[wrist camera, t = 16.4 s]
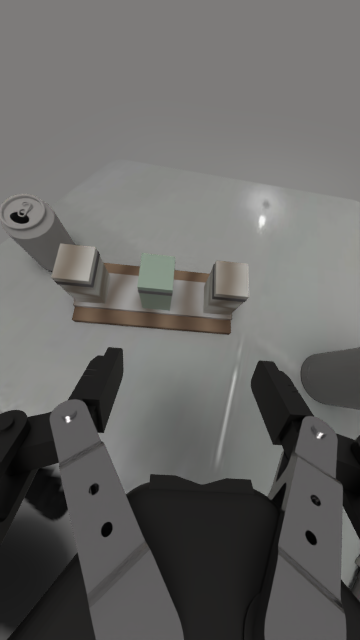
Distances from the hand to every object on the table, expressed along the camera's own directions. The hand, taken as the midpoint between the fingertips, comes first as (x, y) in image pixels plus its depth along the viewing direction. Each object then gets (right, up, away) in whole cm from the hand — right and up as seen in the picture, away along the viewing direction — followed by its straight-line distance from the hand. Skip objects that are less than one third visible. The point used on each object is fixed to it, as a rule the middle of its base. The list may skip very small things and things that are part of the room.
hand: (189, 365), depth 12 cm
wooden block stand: (-5, +7, +28) cm, 29 cm away
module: (-5, +7, +26) cm, 28 cm away
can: (-25, +15, +29) cm, 41 cm away
